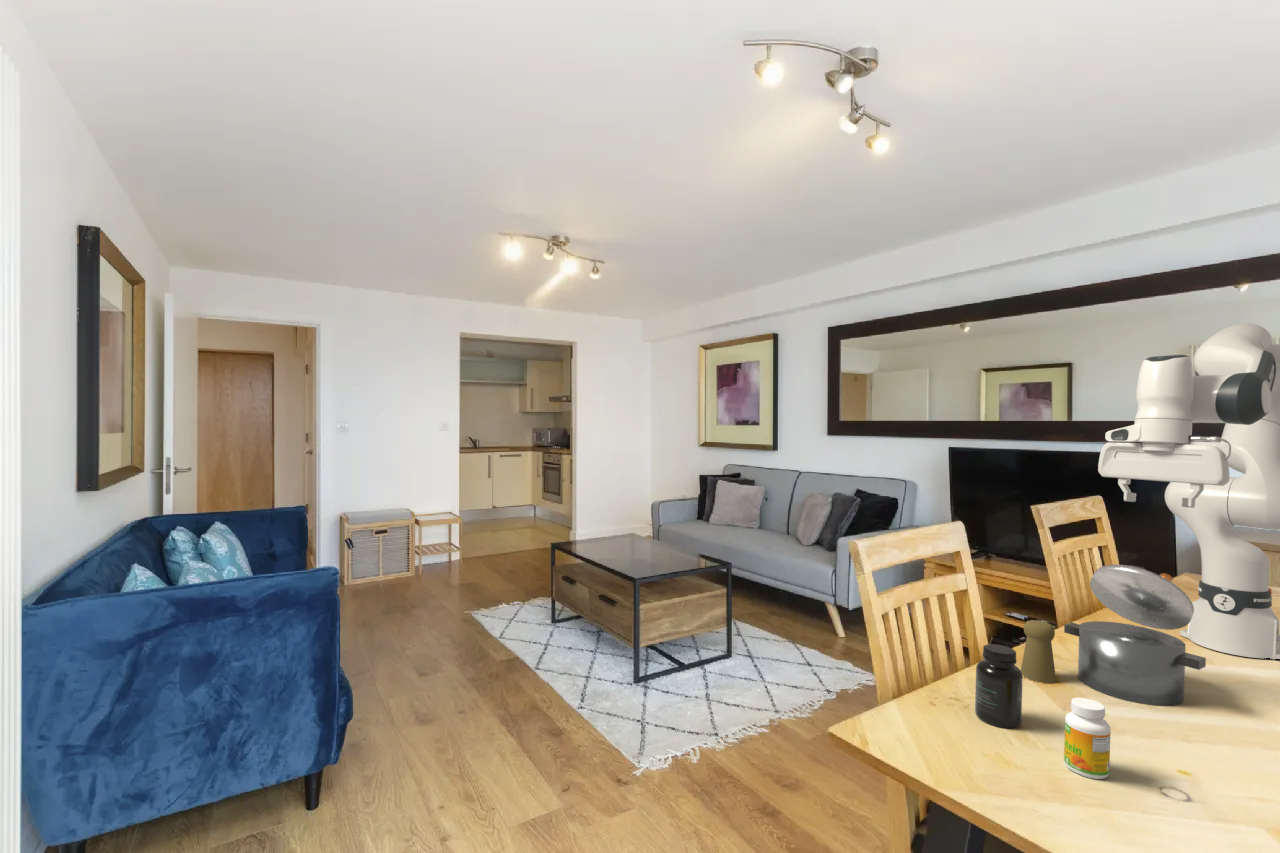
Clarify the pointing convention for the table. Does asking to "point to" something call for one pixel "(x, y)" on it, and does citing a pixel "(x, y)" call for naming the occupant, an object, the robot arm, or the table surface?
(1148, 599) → the cooker lid
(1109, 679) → the cooker pot
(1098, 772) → the supplement bottle
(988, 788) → the table surface
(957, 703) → the table surface
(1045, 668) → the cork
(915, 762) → the table surface
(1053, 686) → the table surface
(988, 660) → the supplement bottle
